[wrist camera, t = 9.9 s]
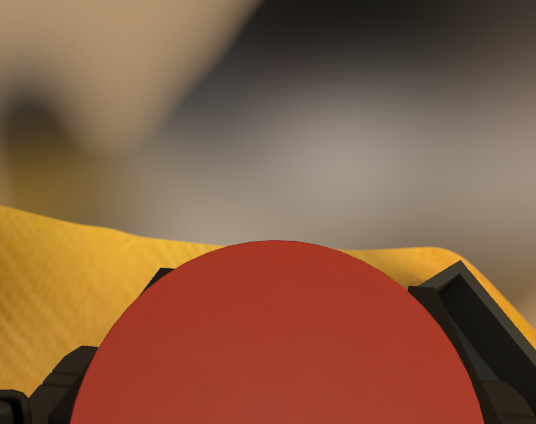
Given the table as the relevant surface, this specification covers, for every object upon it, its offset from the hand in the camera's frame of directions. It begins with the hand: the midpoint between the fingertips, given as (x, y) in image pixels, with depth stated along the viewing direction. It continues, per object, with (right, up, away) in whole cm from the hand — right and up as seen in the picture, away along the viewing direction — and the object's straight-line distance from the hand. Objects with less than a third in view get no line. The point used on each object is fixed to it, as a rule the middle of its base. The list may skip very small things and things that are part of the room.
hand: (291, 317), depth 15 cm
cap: (0, -3, -1) cm, 4 cm away
